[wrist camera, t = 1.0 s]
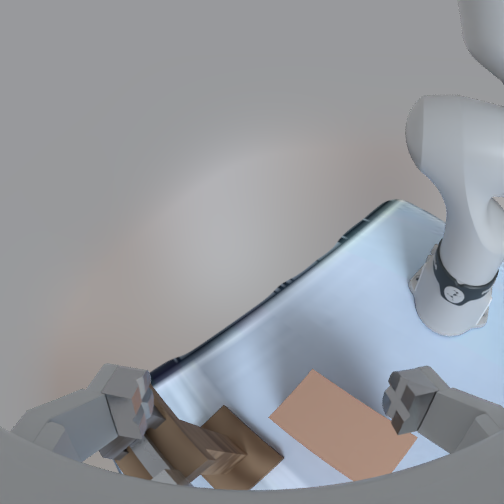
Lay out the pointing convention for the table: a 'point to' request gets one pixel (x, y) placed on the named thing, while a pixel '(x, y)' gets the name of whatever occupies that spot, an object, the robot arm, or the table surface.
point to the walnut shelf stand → (200, 449)
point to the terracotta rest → (341, 429)
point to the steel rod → (157, 463)
